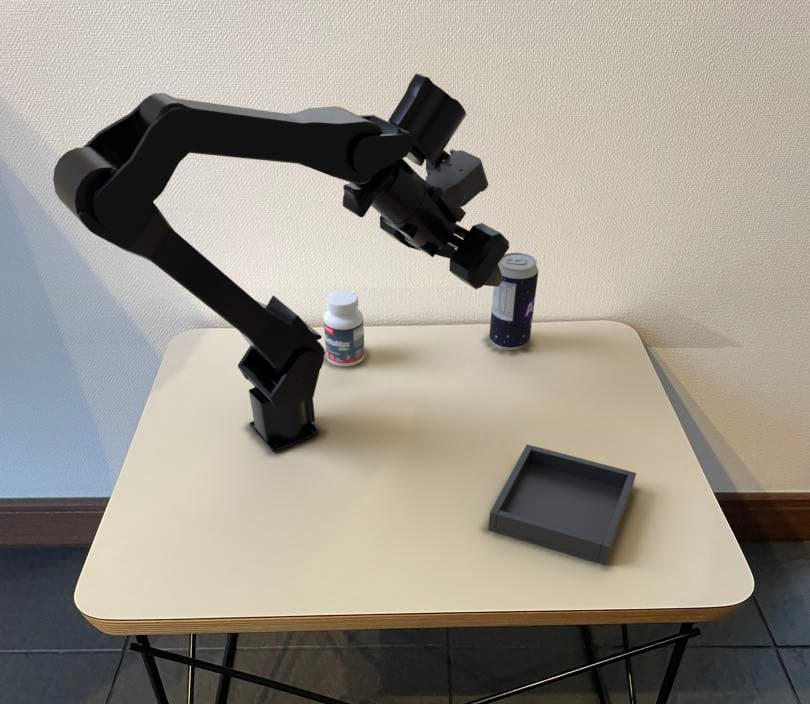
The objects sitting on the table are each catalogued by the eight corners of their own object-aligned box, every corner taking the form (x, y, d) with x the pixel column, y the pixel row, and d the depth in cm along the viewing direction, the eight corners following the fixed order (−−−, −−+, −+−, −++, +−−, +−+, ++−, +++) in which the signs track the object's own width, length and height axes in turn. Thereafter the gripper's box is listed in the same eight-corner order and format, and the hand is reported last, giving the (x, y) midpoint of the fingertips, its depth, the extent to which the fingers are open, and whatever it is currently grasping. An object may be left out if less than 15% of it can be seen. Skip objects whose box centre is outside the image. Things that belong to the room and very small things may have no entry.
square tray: (487, 530, 81) (489, 512, 79) (524, 461, 89) (526, 443, 88) (604, 565, 78) (609, 547, 76) (631, 490, 86) (636, 472, 84)
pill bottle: (319, 361, 105) (313, 301, 98) (339, 343, 108) (335, 284, 102) (352, 371, 103) (349, 310, 97) (371, 353, 106) (369, 293, 100)
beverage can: (527, 355, 106) (537, 272, 97) (486, 350, 107) (493, 268, 98) (530, 334, 110) (541, 253, 101) (491, 330, 111) (498, 249, 102)
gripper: (503, 158, 77) (567, 238, 89) (398, 111, 88) (468, 188, 100) (438, 254, 79) (510, 319, 92) (344, 197, 90) (419, 262, 102)
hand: (476, 268), depth 96 cm, fingers open, 9 cm apart
